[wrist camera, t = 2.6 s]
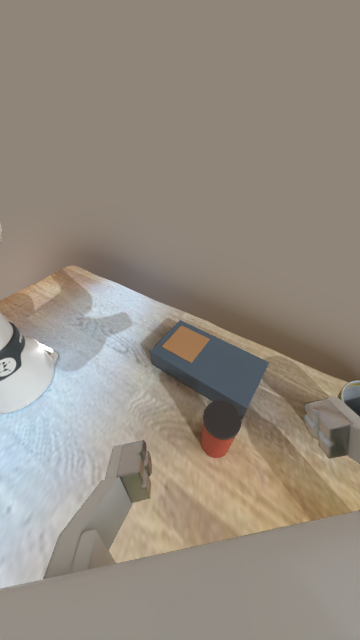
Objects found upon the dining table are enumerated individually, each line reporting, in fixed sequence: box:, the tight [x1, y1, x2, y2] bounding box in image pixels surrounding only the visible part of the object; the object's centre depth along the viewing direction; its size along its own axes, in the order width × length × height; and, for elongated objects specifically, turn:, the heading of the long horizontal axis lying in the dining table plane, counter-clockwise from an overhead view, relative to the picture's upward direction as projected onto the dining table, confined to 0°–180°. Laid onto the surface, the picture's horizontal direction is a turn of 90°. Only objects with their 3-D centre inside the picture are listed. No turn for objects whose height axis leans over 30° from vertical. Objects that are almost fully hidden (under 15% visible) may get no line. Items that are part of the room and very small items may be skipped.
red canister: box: [201, 400, 241, 458], centre depth 36 cm, size 6×6×11 cm
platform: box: [150, 320, 269, 419], centre depth 49 cm, size 23×12×5 cm, turn 55°
